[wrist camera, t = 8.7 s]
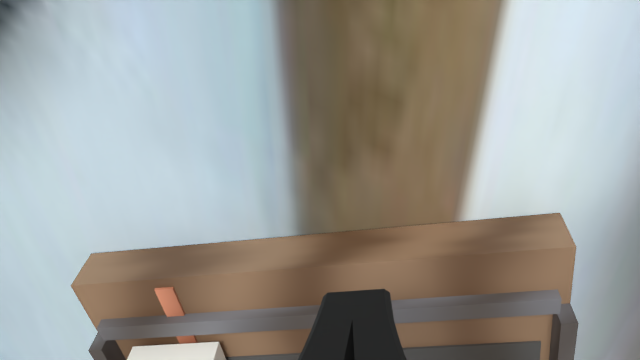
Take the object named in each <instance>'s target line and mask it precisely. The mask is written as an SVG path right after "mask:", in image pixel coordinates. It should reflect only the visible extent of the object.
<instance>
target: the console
mask: <svg viewBox="0 0 640 360" xmlns="http://www.w3.org/2000/svg"><path fill="white" fill-rule="evenodd" d="M575 253H576V245H575V243H574V241H573V239H572V237H571V235H570V233H569V231H568V229H567V226H566V224H565V222H564V220H563V218H562V216H561V214H560V213H553V214H542V215H530V216H519V217H507V218H496V219H484V220H473V221H461V222H450V223H438V224H427V225H415V226H404V227H392V228H381V229H369V230H358V231H346V232H335V233H323V234H312V235H300V236H289V237H278V238H266V239H255V240H243V241H232V242H220V243H209V244H197V245H186V246H174V247H163V248H151V249H140V250H128V251H117V252H105V253H94V254H91V255H90V256H89V258H88V260H87V261H86V263H85V264H84V266H83V267H82V269H81V270H80V272H79V274H78V275H77V277H76V278H75V280H74V281H73V283H72V285H71V287H72V289H73V290H74V292H75V294H76V295H77V297H78V299H79V301H80V302H81V304H82V306H83V307H84V309H85V311H86V313H87V314H88V316H89V318H90V319H91V321H92V323H93V325H94V326H95V328H96V330H97V331H98V333H97V335H96V337H95V339H94V341H93V343H92V345H91V347H90V349H89V350H88V351H89V352H90V354H91V356H92V357H93V359H94V360H127V358H128V356H129V354H130V352H131V350H132V347H134V346H152V345H169V344H187V343H205V342H219V343H220V346H221V348H222V350H223V353H224V355H225V358H226V360H298V358H299V356H300V354H301V352H302V350H303V348H304V346H305V343H306V341H307V339H308V336H309V334H310V332H311V329H312V327H313V324H314V322H315V319H316V316H317V314H318V311H319V308H320V305H321V302H322V299H323V296H324V295H326V294H327V293H329V292H344V291H358V290H373V289H385V290H387V291H389V292H390V296H391V303H392V310H393V317H394V322H395V326H396V329H397V333H398V336H399V339H400V343H401V346H402V349H403V351H404V354H405V357H406V359H407V360H574V353H575V345H576V337H577V329H578V322H577V319H576V317H575V314H574V312H573V309H572V307H571V304H570V299H571V290H572V280H573V271H574V262H575Z"/></svg>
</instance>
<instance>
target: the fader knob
mask: <svg viewBox="0 0 640 360" xmlns="http://www.w3.org/2000/svg"><path fill="white" fill-rule="evenodd" d="M127 360H226V358H225V355H224V353H223V350H222V348H221V346H220V343H219V342H205V343H187V344H169V345H152V346H134V347H132V350H131V352H130V354H129V356H128V358H127Z"/></svg>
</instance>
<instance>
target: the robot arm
mask: <svg viewBox="0 0 640 360" xmlns="http://www.w3.org/2000/svg"><path fill="white" fill-rule="evenodd" d="M298 360H407V359H406V357H405V354H404V351H403V349H402V346H401V343H400V339H399V336H398V333H397V329H396V326H395V322H394V317H393V310H392V303H391V296H390V292H389V291H387V290H385V289H373V290H358V291H344V292H329V293H327V294H326V295H324V296H323V299H322V302H321V305H320V308H319V311H318V314H317V316H316V319H315V322H314V324H313V327H312V329H311V332H310V334H309V336H308V339H307V341H306V343H305V346H304V348H303V350H302V352H301V354H300V356H299V358H298Z"/></svg>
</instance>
